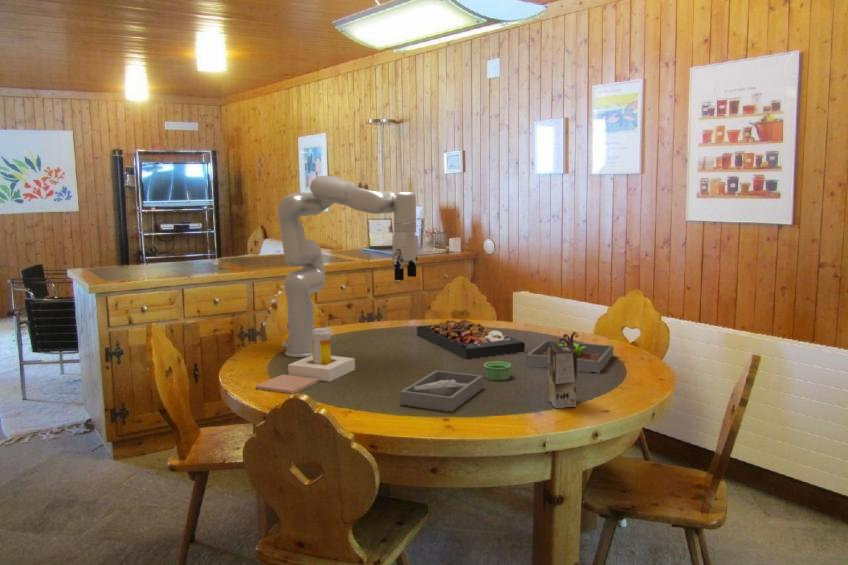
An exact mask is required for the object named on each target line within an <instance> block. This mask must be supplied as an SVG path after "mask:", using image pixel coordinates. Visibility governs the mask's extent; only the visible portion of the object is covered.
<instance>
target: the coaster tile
mask: <svg viewBox="0 0 848 565" xmlns="http://www.w3.org/2000/svg"><path fill="white" fill-rule="evenodd" d="M317 383H319V380H318V379H313V378H305V377H297V376H290V375H289V374H281V375H278V376H276V377H273V378H271V379H268V380H266V381H264V382H262V383H259V384H256V385H255V389H256V388H259V389H258V390H261V389H265V390H264V391H268V390H271V391H270V392H275V391H277V393H282V392H284V394H289V393H290V395H294V394H296V393H298V392H301V391H302V390H304V389H307V388H309V387H311V386H313V385H315V384H317ZM295 392H296V393H295Z"/></svg>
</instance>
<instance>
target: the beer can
mask: <svg viewBox="0 0 848 565" xmlns="http://www.w3.org/2000/svg"><path fill="white" fill-rule="evenodd" d="M331 343H332V342H331V331H330V329H329V328H327V327H318V328H314V329H313V332H312V348H313V364H318V365H328V364H330V363H331V356H332V346H331V345H332V344H331Z"/></svg>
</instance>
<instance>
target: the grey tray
mask: <svg viewBox="0 0 848 565" xmlns="http://www.w3.org/2000/svg"><path fill="white" fill-rule="evenodd" d="M439 380H455V381H456V382H457V383H461V384H464V383H465V384H467V385H466V386H464V387H463V388H462V389H460V390H459V391H457V392H456V393H454V394H453V395H452V396H450V397H448V396H441V395H433V394H425V393H417V392H412V391H413V389H414V386H413V385H416V386H420V385H424V384H428V383H433V382H437V381H439ZM482 389H484V376H483V375H480V374H470V373H462V372H453V371H446V370H445V371H443V370H434V371H433V372H431V373H430V374H427V375H426V376H423V377H422V378H421V379H419V380H418V381H416V382H414V383H413V384H410V385H409V386H407V387H406V388H404V389H402V390H401V391H400V392H399V393H400V394H399V395H400V398H399V399H400V406H405V405H407V407H412V406H414V408H419V407H420V409H421V408H422V409H426V408H427V410H434V409H435V411H441V410H442V411H441V412H448V411H449V412H448V413H453V412H455V410H457V409H458V408H459V407H460V406H462V405H463V404H465V403H466V402H467V401H469V400H470V399H471V398H472V397H474V395H476V394H478V393H479V392H480V391H481V390H482ZM477 392H478V393H477ZM465 401H466V402H465ZM457 407H458V408H457ZM452 411H453V412H452Z"/></svg>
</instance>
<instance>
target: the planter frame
mask: <svg viewBox="0 0 848 565" xmlns="http://www.w3.org/2000/svg"><path fill="white" fill-rule="evenodd" d="M565 343H566V342H565V341H563V340H561V342H560V343H559V344H562V345H564V346H565ZM573 343H576V344H579V347H578V348H580V347H583V346H586V347H585V348H584V349H583V350H584V351H586V352H590V353H595V354H600V355H602V356H600V358H599V359H598V360H597V361H593V360H583V359H577V370H578V371H577V372H579V371H587V372H586V373H589V372H597V373H596V374H598V373H599V372H600V371H601V370H602V369H603V370H604V368H605V367H606V366H607V365H606V363H607V362H608V361H609V360H610V358H611V357H612V356H613V357H614V345H606V344H596V343H595V344H594V343H585V342H584V343H582V342H574V341H573ZM549 346H559V345H558V343H557V340H550V339H548V340H547V339H545V340H544V341H543V342H541V343H540V344H539V345H537V346H536V347H534V349H532V350H531V351H529V352H528V353H527V354H526V358H525V359H526V362H525V363H526V364H525V365H530V366H529V367H531V366H541V367H548V356H541V354H542V353H544V352H546V351H547V350H548V347H549ZM547 352H548V351H547ZM613 357H612V358H613ZM610 361H611V360H610ZM610 361H609V362H610ZM609 362H608V363H609ZM608 363H607V364H608ZM605 365H606V366H605ZM604 366H605V367H604ZM603 367H604V368H603ZM603 370H602V371H603ZM602 371H601V372H602ZM601 372H600V373H601ZM600 373H599V374H600Z"/></svg>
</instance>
